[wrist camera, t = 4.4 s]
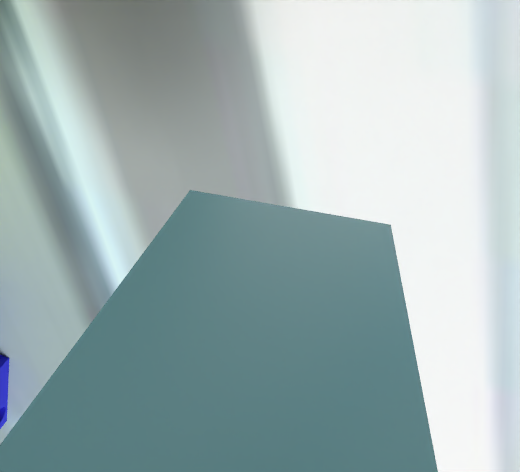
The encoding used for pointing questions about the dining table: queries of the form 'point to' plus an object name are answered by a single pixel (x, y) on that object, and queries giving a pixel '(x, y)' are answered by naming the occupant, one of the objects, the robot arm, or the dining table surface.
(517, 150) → the dining table surface
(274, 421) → the teal rectangular block
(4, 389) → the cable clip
